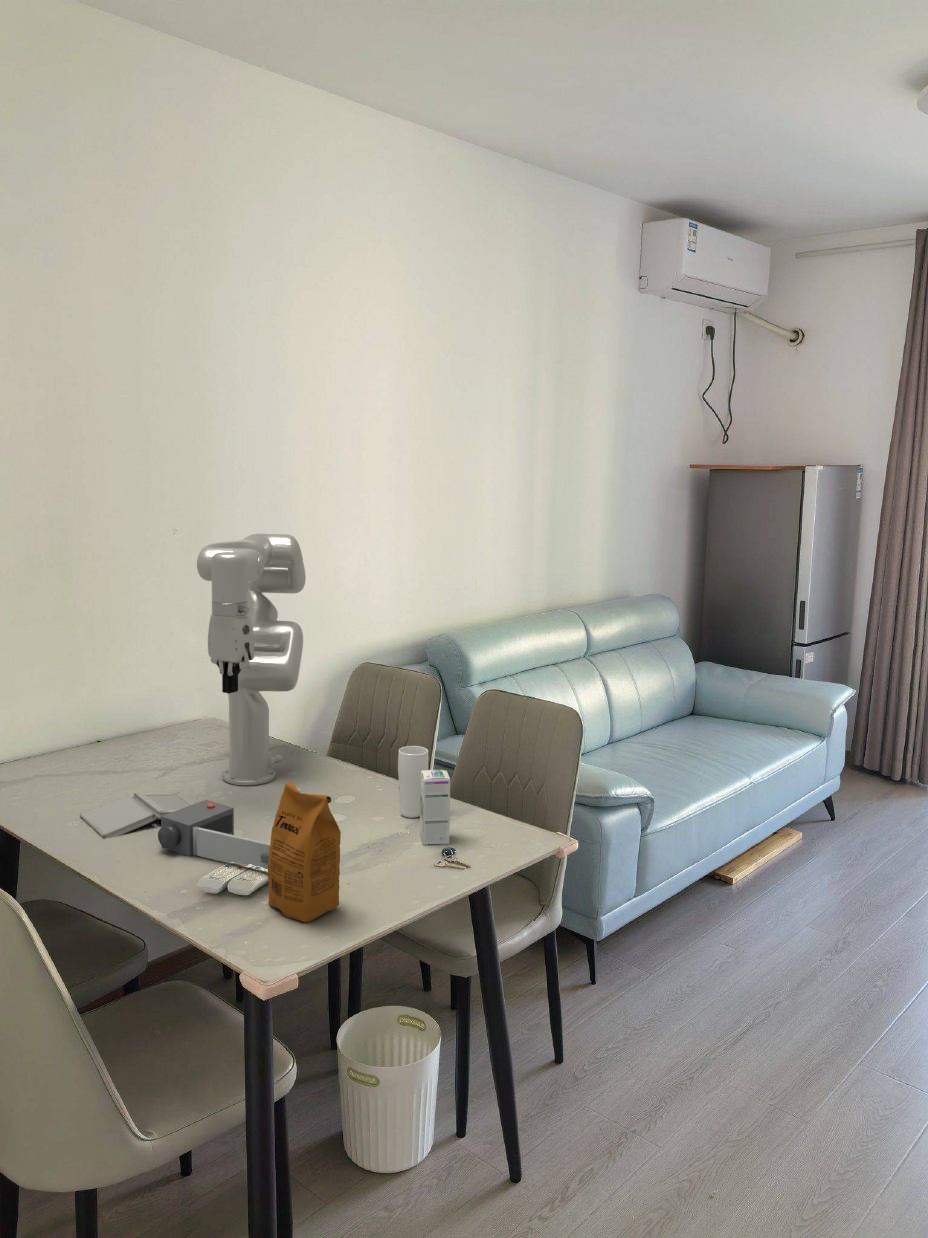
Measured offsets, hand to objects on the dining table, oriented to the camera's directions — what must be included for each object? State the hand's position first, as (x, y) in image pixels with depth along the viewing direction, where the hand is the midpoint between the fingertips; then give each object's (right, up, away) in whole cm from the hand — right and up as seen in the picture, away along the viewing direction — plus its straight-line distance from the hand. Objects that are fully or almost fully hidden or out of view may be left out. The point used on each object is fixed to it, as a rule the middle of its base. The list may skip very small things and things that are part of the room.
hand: (230, 691), depth 209 cm
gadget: (-18, -28, -1) cm, 34 cm away
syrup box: (+45, -31, -8) cm, 55 cm away
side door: (+7, -31, -24) cm, 40 cm away
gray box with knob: (-3, -30, -14) cm, 33 cm away
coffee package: (+23, -35, -40) cm, 58 cm away
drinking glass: (+40, -28, +6) cm, 49 cm away
